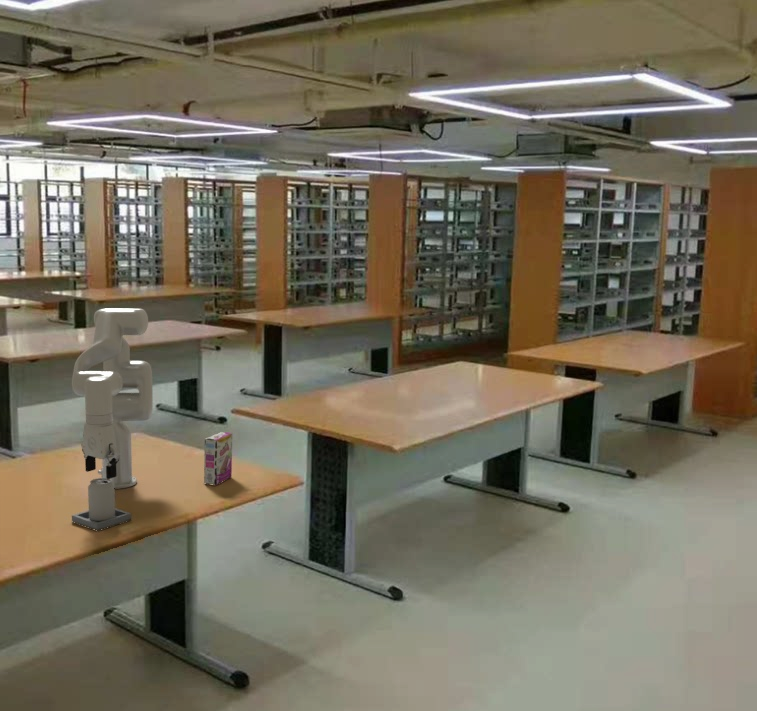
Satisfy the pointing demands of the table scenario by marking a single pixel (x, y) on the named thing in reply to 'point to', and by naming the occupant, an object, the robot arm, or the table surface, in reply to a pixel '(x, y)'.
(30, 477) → the table surface
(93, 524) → the tray
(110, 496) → the can
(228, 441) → the candy bar box
